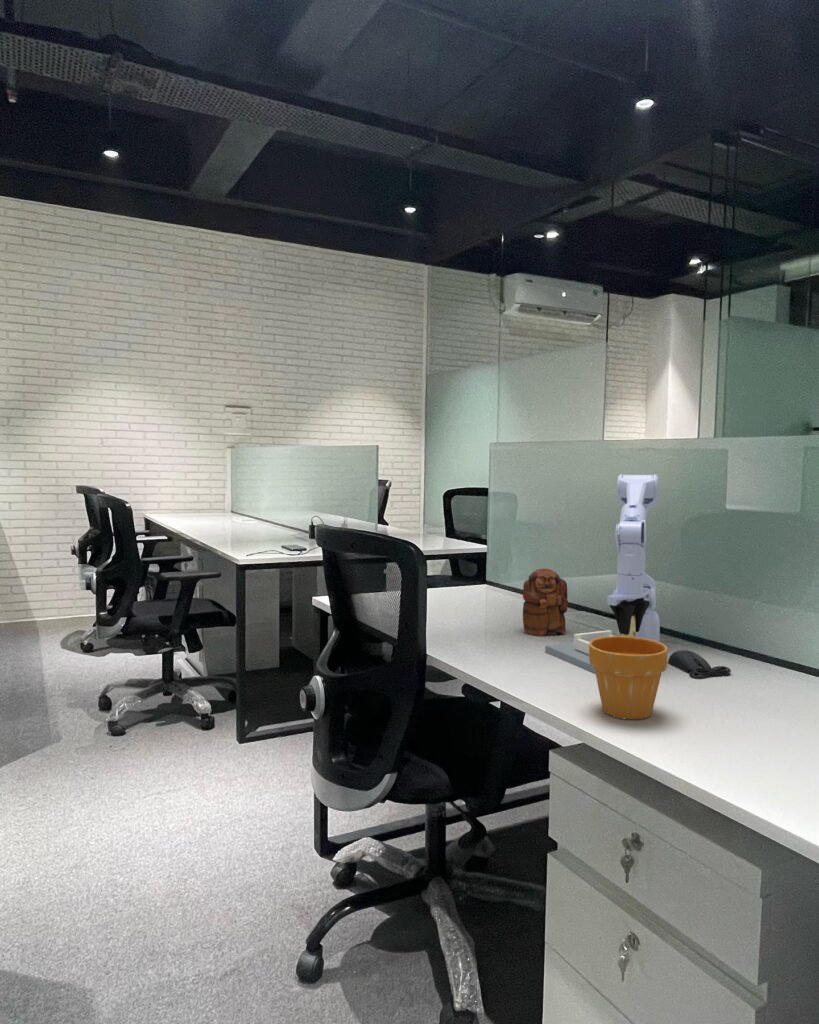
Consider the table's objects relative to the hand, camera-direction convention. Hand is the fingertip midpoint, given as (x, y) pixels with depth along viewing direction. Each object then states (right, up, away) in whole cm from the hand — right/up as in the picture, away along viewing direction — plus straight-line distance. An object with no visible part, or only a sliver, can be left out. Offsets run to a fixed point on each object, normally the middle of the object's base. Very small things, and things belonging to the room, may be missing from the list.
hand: (629, 632), depth 164 cm
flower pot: (-9, -11, -28) cm, 31 cm away
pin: (0, -2, 0) cm, 2 cm away
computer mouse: (+15, -9, 0) cm, 17 cm away
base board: (-4, -8, +7) cm, 11 cm away
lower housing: (-3, -6, +9) cm, 11 cm away
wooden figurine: (-13, -6, +34) cm, 37 cm away
